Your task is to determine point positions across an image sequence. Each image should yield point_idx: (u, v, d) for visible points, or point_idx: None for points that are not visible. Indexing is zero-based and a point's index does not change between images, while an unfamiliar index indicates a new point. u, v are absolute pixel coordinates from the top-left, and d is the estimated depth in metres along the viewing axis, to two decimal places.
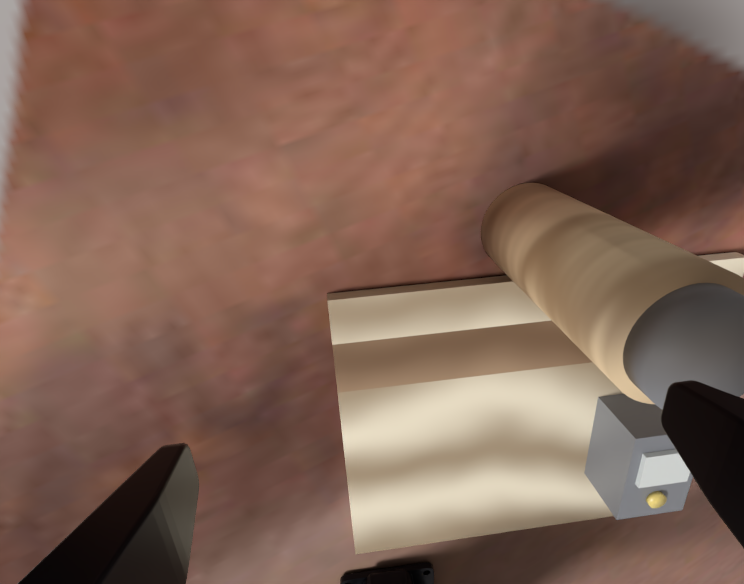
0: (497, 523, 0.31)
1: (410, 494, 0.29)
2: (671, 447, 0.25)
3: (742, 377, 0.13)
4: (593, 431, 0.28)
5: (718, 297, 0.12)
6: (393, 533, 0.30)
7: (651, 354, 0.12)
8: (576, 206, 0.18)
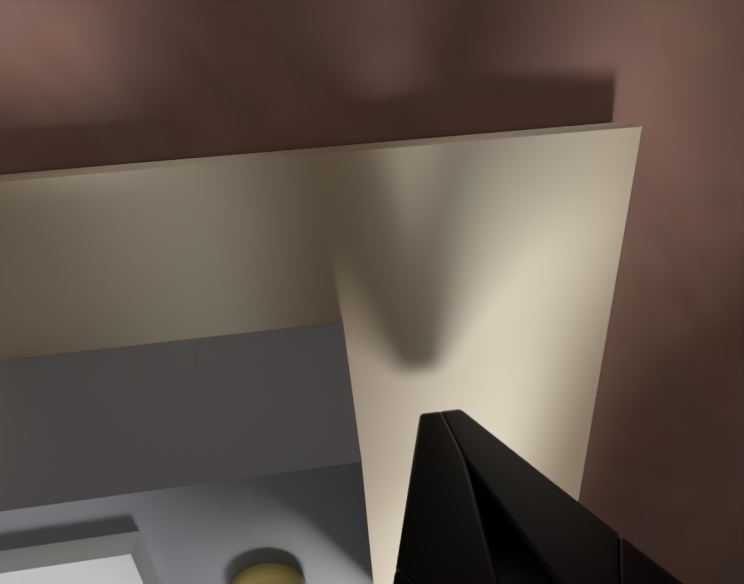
0: None
1: None
2: None
3: None
4: None
5: None
6: None
7: None
8: None
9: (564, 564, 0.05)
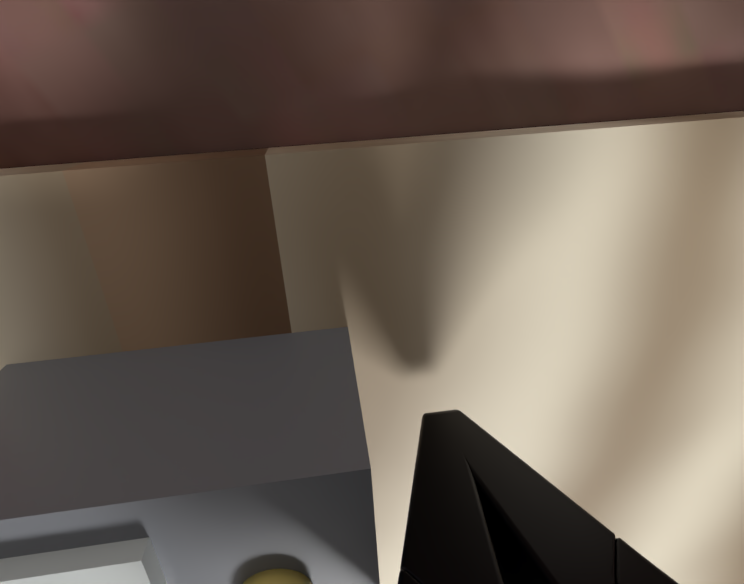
0: None
1: None
2: None
3: None
4: None
5: None
6: None
7: None
8: None
9: (560, 564, 0.05)
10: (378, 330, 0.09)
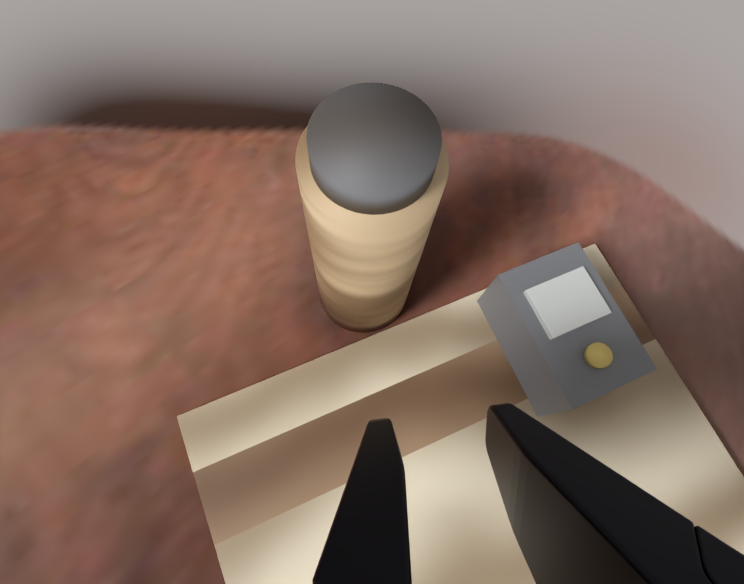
0: None
1: None
2: (553, 275, 0.20)
3: (421, 143, 0.12)
4: (501, 345, 0.22)
5: None
6: None
7: (309, 146, 0.12)
8: None
9: (645, 552, 0.05)
10: (616, 397, 0.22)
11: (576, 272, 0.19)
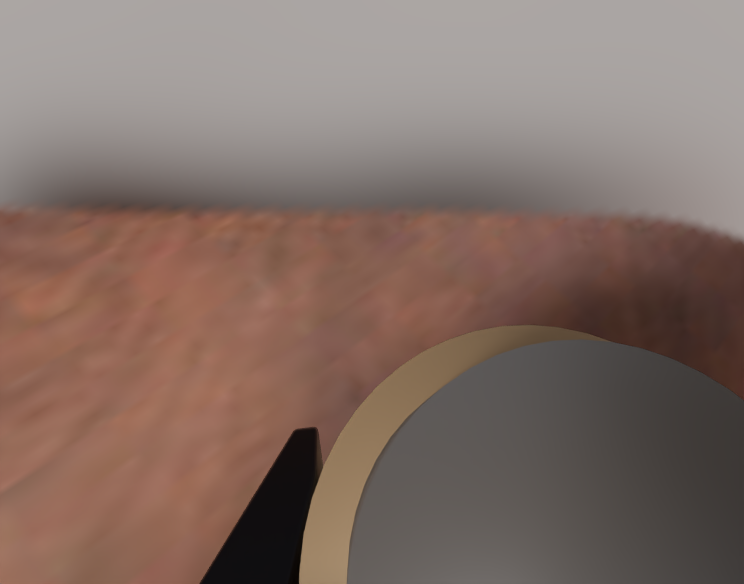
0: None
1: None
2: None
3: None
4: None
5: None
6: None
7: None
8: None
9: None
10: None
11: None
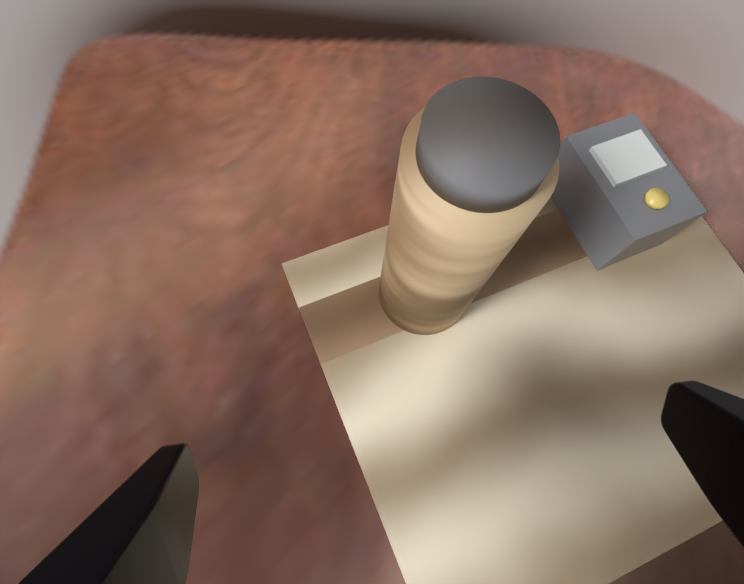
0: (633, 539, 0.20)
1: (472, 508, 0.20)
2: (614, 138, 0.23)
3: (539, 139, 0.12)
4: (562, 212, 0.25)
5: None
6: None
7: (424, 141, 0.12)
8: None
9: None
10: (665, 257, 0.24)
11: (635, 133, 0.22)
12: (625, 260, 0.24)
